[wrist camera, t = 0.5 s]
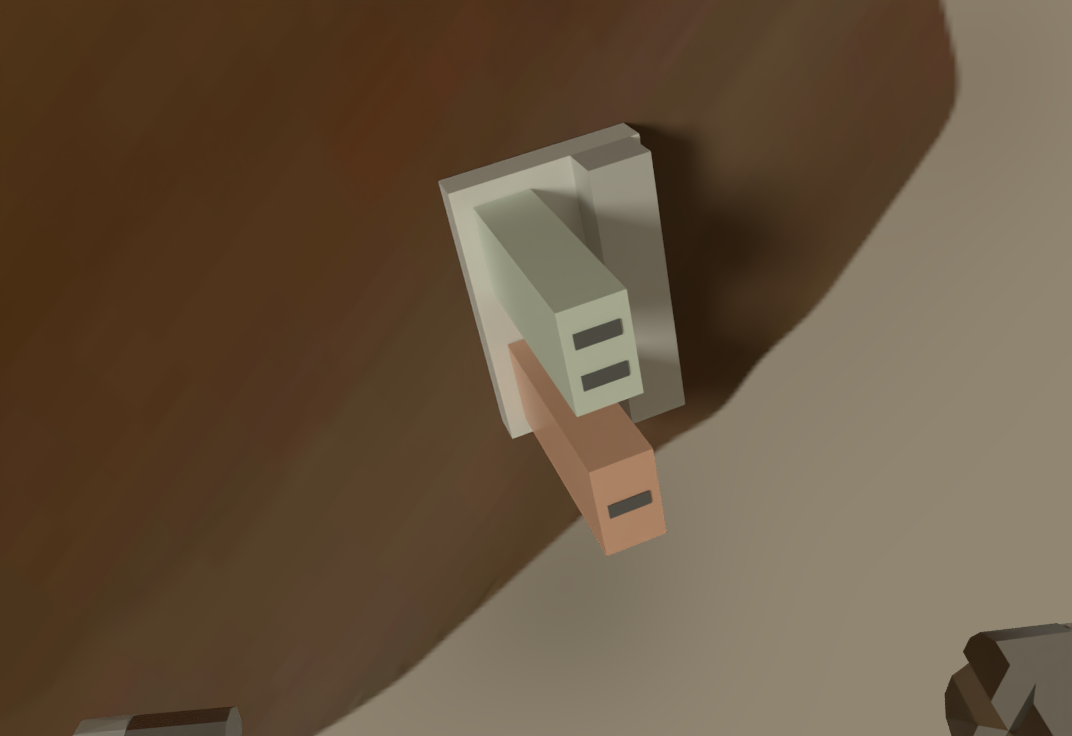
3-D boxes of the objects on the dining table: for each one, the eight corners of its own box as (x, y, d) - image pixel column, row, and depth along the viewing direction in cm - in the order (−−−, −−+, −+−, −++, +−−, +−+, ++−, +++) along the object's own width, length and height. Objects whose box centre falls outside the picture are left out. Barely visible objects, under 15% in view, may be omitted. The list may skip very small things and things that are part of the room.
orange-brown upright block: (507, 344, 51) (589, 474, 41) (563, 325, 52) (658, 448, 42) (526, 419, 54) (607, 557, 44) (579, 400, 55) (671, 532, 45)
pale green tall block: (472, 207, 47) (555, 314, 37) (534, 187, 47) (632, 288, 38) (495, 296, 50) (577, 418, 40) (553, 276, 50) (649, 392, 40)
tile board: (438, 180, 48) (460, 212, 44) (623, 122, 50) (660, 148, 46) (502, 420, 56) (526, 463, 52) (659, 363, 58) (693, 401, 54)
